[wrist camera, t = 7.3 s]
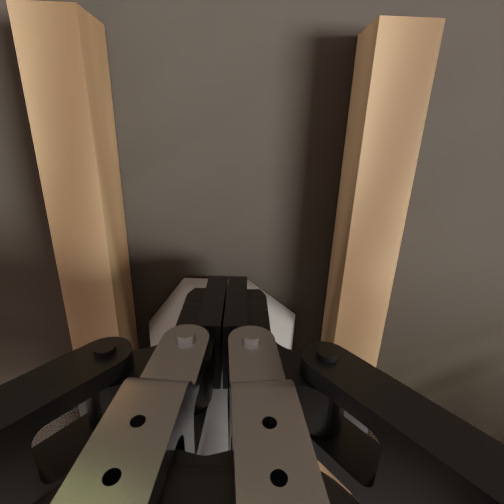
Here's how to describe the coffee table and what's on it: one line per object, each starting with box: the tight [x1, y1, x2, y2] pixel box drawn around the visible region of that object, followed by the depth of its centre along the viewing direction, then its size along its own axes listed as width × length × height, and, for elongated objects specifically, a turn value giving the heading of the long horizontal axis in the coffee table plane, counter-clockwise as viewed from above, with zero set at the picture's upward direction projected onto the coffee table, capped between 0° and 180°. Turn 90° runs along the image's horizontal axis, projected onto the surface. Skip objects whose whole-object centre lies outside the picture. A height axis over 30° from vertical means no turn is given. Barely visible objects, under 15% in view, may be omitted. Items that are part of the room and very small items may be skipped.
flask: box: [149, 278, 295, 456], centre depth 11 cm, size 7×7×10 cm
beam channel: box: [6, 0, 445, 494], centre depth 14 cm, size 13×23×2 cm, turn 178°
